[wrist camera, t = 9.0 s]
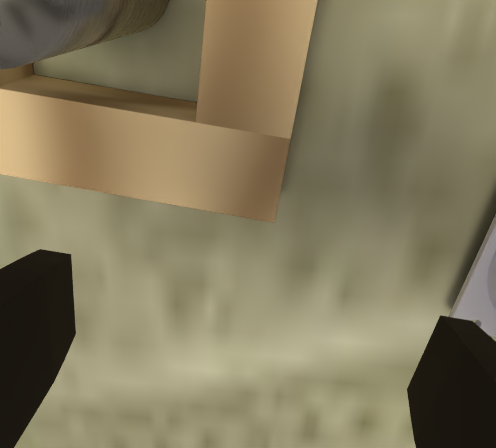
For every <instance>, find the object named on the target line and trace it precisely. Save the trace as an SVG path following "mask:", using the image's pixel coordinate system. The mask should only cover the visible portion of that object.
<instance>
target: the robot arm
mask: <svg viewBox="0 0 496 448" xmlns="http://www.w3.org/2000/svg"><path fill="white" fill-rule="evenodd" d="M472 320H477V321H476V322H475V323H474V322H473V321H472ZM75 334H76V330H75V313H74V297H73V280H72V263H71V254H65V253H59V252H53V251H47V250H41V249H40V250H37V251H35V252H33V253H31V254H29V255H27V256H25V257H23V258H21V259H19V260H17V261H15V262H13V263H11V264H9V265H7V266H5V267H3V268H2V269H0V448H14V447H15V445H16V443H17V442H18V440H19V439H20V437H21V435H22V434H23V432H24V430H25V429H26V427H27V426H28V424H29V422H30V421H31V419H32V417H33V416H34V414H35V412H36V411H37V409H38V408H39V406H40V404H41V403H42V401H43V399H44V398H45V396H46V394H47V393H48V391H49V389H50V388H51V386H52V384H53V383H54V381H55V379H56V377H57V375H58V372H59V370H60V368H61V366H62V364H63V362H64V360H65V357H66V355H67V353H68V351H69V348H70V346H71V344H72V341H73V339H74V337H75ZM490 336H491V337H496V215H495V217H494V219H493V221H492V223H491V226H490V228H489V230H488V232H487V234H486V236H485V239H484V241H483V243H482V245H481V247H480V249H479V252H478V254H477V256H476V258H475V260H474V262H473V265H472V267H471V269H470V271H469V273H468V276H467V278H466V280H465V282H464V284H463V286H462V289H461V291H460V293H459V295H458V297H457V299H456V302H455V304H454V306H453V308H452V310H451V312H450V315H449V317H446V316H440V318H439V320H438V322H437V324H436V326H435V329H434V331H433V333H432V335H431V338H430V340H429V342H428V344H427V346H426V349H425V351H424V353H423V355H422V357H421V360H420V362H419V364H418V366H417V368H416V371H415V373H414V375H413V377H412V380H411V382H410V384H409V386H408V388H407V392H408V400H409V407H410V415H411V422H412V428H413V434H414V441H415V444H416V448H496V342H495V341H494V340H493V339H492V338H491V337H490Z"/></svg>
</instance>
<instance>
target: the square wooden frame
mask: <svg viewBox="0 0 496 448" xmlns="http://www.w3.org/2000/svg"><path fill="white" fill-rule="evenodd" d="M316 6H317V0H206V10H205V21H204V33H203V44H202V56H201V67H200V79H199V90H198V102H197V103H196V102H190V101H184V100H178V99H172V98H167V97H161V96H155V95H149V94H143V93H137V92H132V91H126V90H120V89H114V88H108V87H102V86H96V85H91V84H85V83H79V82H73V81H67V80H61V79H56V78H50V77H44V76H38V75H33V64H32V63H30V64H26V65H23V66H19V67H16V68H10V69H0V174H3V175H9V176H15V177H20V178H26V179H31V180H37V181H43V182H48V183H54V184H59V185H65V186H71V187H76V188H82V189H88V190H93V191H99V192H104V193H110V194H116V195H121V196H127V197H132V198H138V199H144V200H149V201H155V202H160V203H166V204H172V205H177V206H183V207H189V208H194V209H200V210H205V211H211V212H217V213H222V214H228V215H233V216H239V217H245V218H250V219H256V220H261V221H267V222H273V223H274V222H275V217H276V212H277V206H278V201H279V196H280V191H281V186H282V181H283V175H284V170H285V165H286V160H287V155H288V150H289V145H290V139H291V134H292V129H293V124H294V119H295V114H296V109H297V103H298V98H299V93H300V88H301V83H302V78H303V73H304V67H305V62H306V57H307V52H308V47H309V42H310V36H311V31H312V26H313V21H314V16H315V11H316Z"/></svg>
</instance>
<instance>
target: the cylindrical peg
mask: <svg viewBox="0 0 496 448" xmlns="http://www.w3.org/2000/svg"><path fill="white" fill-rule="evenodd" d="M168 2H169V0H0V69H10V68H16V67H19V66H23V65H26V64H30V63H33V62H37V61H40V60H43V59H47V58H50V57H54V56H57V55H61V54H64V53H67V52H71V51H74V50H78V49H81V48H85V47H88V46H92V45H95V44H98V43H102V42H105V41H109V40H112V39H116V38H119V37H122V36H126V35H129V34H133V33H136V32H140V31H142V30H145V29H147V28H149V27H150V26H152V25H153V24H154V23H156V22H157V20H158V19H159V18H160V17H161V16H162V14H163V13H164V11H165V9H166V7H167V4H168Z"/></svg>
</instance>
